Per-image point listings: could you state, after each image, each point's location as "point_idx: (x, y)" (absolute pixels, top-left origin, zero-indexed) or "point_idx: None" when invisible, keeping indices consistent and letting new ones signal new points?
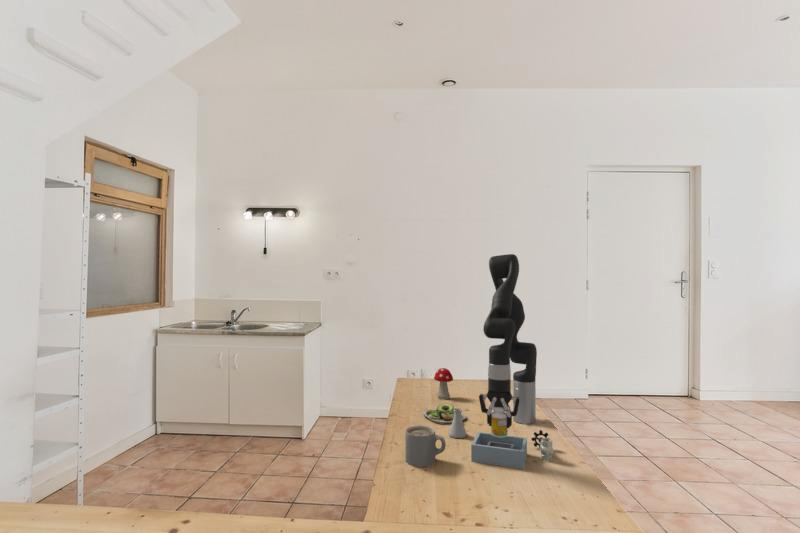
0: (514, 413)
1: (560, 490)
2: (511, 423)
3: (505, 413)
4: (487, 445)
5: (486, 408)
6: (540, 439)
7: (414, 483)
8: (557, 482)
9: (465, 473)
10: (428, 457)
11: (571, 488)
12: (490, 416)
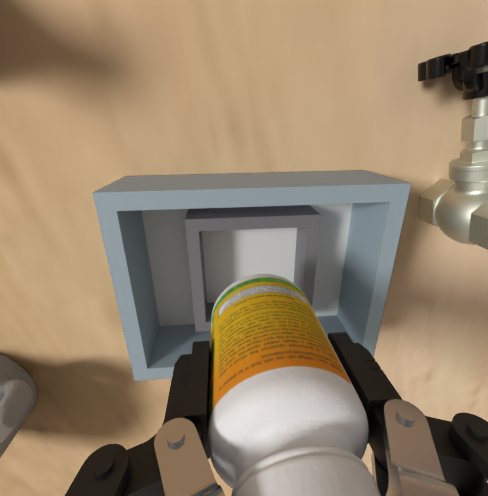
0: (457, 489)
1: (426, 393)
2: (369, 361)
3: (358, 456)
4: (193, 281)
5: (134, 493)
6: (485, 95)
7: (61, 489)
8: (430, 359)
9: (164, 406)
10: (12, 439)
11: (458, 375)
12: (205, 450)
